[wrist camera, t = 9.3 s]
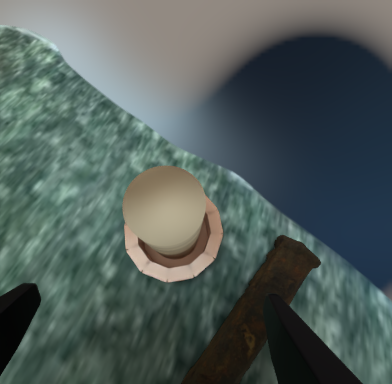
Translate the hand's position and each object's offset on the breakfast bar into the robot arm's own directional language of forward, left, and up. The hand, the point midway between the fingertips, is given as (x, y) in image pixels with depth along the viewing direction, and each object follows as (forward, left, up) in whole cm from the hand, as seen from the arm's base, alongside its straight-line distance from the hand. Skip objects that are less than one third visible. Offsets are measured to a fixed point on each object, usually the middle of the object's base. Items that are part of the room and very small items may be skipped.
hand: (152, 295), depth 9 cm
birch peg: (+3, -3, -11) cm, 12 cm away
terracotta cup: (+3, -3, -12) cm, 13 cm away
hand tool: (-7, -2, -13) cm, 15 cm away
